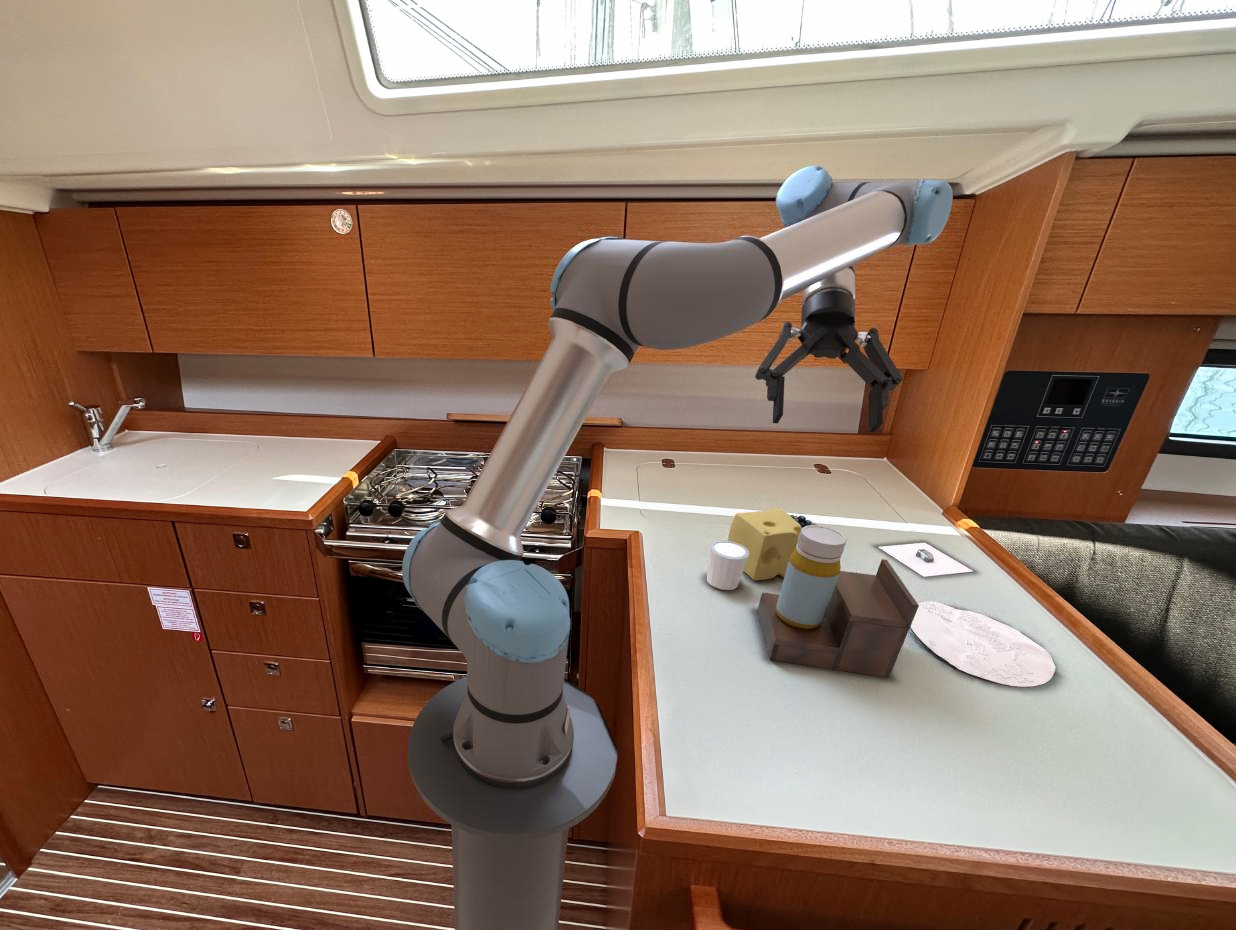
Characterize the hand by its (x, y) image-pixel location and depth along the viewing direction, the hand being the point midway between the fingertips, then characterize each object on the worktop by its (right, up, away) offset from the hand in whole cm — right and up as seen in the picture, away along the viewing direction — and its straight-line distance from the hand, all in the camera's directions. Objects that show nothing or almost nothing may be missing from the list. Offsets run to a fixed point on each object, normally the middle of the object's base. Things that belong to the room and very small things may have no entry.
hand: (826, 423), depth 86 cm
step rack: (+3, -34, +8) cm, 35 cm away
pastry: (+12, -19, +38) cm, 44 cm away
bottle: (-1, -30, +7) cm, 31 cm away
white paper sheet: (+38, -22, +34) cm, 55 cm away
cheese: (+2, -23, +29) cm, 37 cm away
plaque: (+29, -34, +9) cm, 46 cm away
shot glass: (-8, -26, +23) cm, 35 cm away
